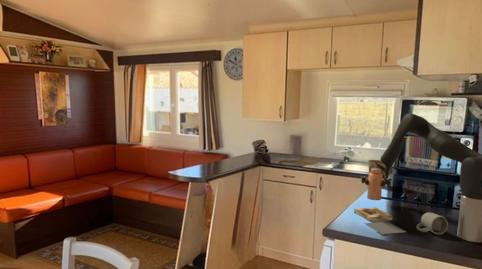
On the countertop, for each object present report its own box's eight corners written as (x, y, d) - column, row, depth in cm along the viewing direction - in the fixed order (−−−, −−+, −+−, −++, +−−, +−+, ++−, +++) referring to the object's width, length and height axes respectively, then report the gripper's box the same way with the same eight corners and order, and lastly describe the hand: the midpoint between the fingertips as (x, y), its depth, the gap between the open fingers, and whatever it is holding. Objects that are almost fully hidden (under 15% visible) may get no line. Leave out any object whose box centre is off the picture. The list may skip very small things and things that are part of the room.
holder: (375, 212, 166) (375, 207, 165) (392, 220, 154) (392, 215, 154) (353, 213, 163) (354, 208, 162) (369, 222, 151) (369, 217, 151)
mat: (387, 223, 151) (387, 221, 151) (406, 233, 140) (406, 231, 140) (364, 224, 148) (364, 223, 148) (381, 235, 137) (382, 233, 137)
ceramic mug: (434, 227, 148) (435, 210, 147) (447, 234, 140) (449, 216, 139) (411, 228, 147) (412, 210, 146) (424, 235, 138) (425, 217, 138)
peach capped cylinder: (367, 196, 161) (369, 167, 160) (381, 197, 159) (383, 168, 157) (366, 199, 155) (368, 169, 153) (380, 201, 152) (382, 171, 151)
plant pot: (384, 189, 211) (386, 164, 209) (362, 185, 222) (364, 161, 220) (394, 186, 221) (396, 162, 219) (372, 181, 232) (374, 159, 230)
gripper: (362, 168, 172) (358, 174, 157) (393, 171, 166) (392, 177, 151) (361, 182, 173) (357, 189, 158) (392, 186, 167) (391, 194, 152)
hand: (374, 183), depth 154 cm, fingers closed on peach capped cylinder, 6 cm apart
